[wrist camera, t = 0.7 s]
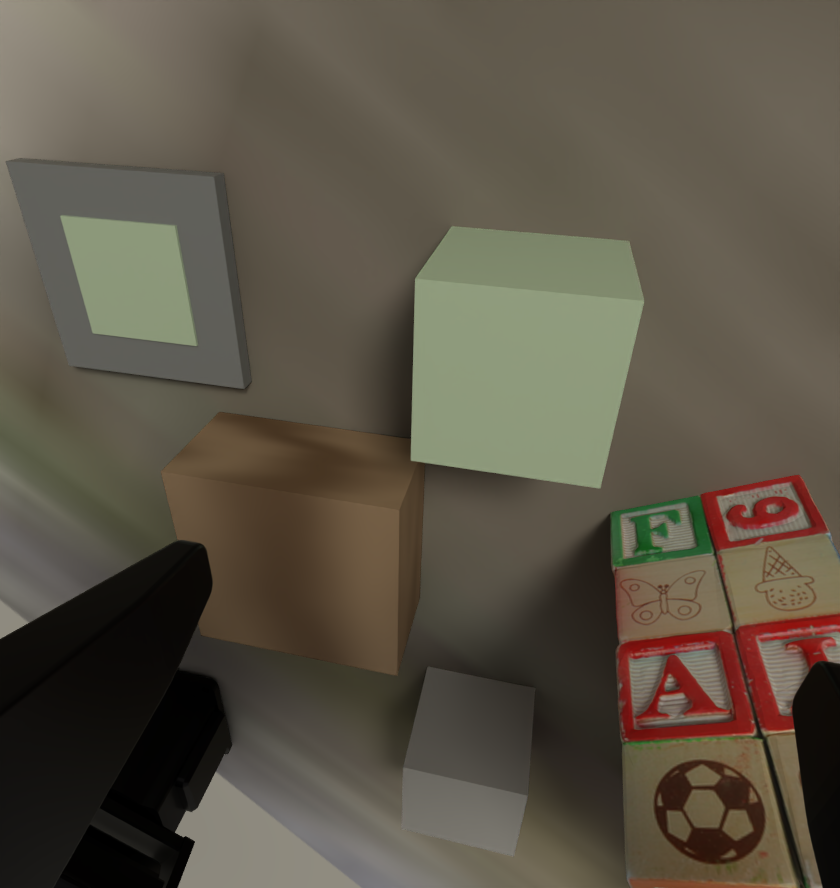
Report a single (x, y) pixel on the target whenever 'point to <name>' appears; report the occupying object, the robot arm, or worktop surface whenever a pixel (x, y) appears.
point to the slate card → (137, 268)
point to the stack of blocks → (720, 681)
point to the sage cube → (522, 352)
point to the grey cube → (469, 761)
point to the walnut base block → (304, 536)
